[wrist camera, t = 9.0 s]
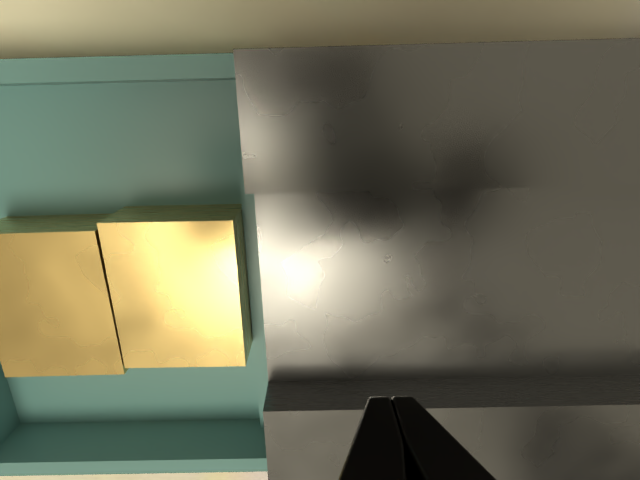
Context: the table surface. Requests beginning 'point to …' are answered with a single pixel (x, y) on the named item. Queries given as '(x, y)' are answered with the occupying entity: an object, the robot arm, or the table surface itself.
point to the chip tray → (108, 197)
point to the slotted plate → (450, 248)
